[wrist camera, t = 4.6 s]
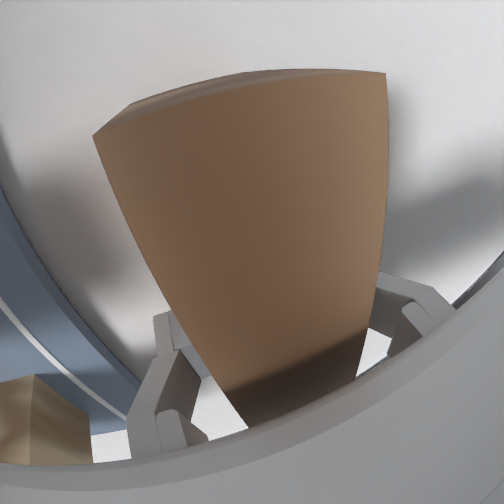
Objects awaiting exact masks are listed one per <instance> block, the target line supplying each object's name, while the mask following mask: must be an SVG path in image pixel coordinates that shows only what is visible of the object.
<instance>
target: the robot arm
mask: <svg viewBox="0 0 504 504" xmlns="http://www.w3.org/2000/svg"><path fill="white" fill-rule="evenodd" d="M153 325H154V333H155V340H156V347H157V354H158V357H155V358H154V359H153V361H152V363H151V365H150V367H149V369H148V371H147V373H146V376H145V378H144V380H143V382H142V384H141V386H140V388H139V391H138V393H137V395H136V397H135V399H134V402H133V404H132V406H131V408H130V411H129V413H128V415H127V417H126V426H127V433H128V439H129V446H130V452H131V457H132V459H126V460H120V461H112V462H103V463H93V464H80V465H54V466H42V465H17V464H6V463H0V504H504V267H503V268H502V269H501V270H500V271H499V273H497V275H495V276H494V278H492V279H491V280H490V281H489V282H488V283H487V284H486V285H485V286H484V287H483V288H482V289H481V290H480V291H479V292H477V293H476V294H475V295H474V296H473V297H472V298H471V299H470V300H468V301H467V302H466V303H465V304H464V305H463V306H462V307H460V308H459V309H458V310H457V311H456V310H455V309H454V308H453V307H452V306H451V305H450V304H449V303H448V302H447V301H446V300H445V299H444V298H443V297H442V296H441V295H440V294H439V293H438V292H437V291H436V290H435V289H434V288H433V287H430V286H427V285H424V284H420V283H417V282H413V281H410V280H407V279H403V278H400V277H396V276H393V275H389V274H386V273H383V272H379V271H378V278H377V284H376V290H375V295H374V301H373V306H372V311H371V316H370V321H369V325H368V327H369V328H371V329H373V330H375V331H377V332H379V333H381V334H383V335H386V336H388V337H390V338H392V340H391V343H390V345H389V348H388V352H387V355H388V356H389V357H390V359H389V360H387V361H386V362H384V363H382V364H381V365H379V366H378V367H376V368H374V369H373V370H371V371H369V372H368V373H366V374H364V375H362V376H361V377H359V378H357V379H355V380H354V381H352V382H350V383H348V384H346V385H344V386H343V387H341V388H339V389H337V390H335V391H333V392H331V393H329V394H327V395H325V396H323V397H321V398H319V399H317V400H315V401H313V402H311V403H308V404H306V405H304V406H302V407H300V408H298V409H295V410H293V411H291V412H288V413H286V414H284V415H281V416H279V417H276V418H274V419H272V420H269V421H266V422H264V423H261V424H259V425H256V426H253V427H251V428H248V429H245V430H242V431H239V432H236V433H233V434H230V435H227V436H224V437H221V438H218V439H215V440H211V441H209V440H208V437H207V435H206V434H204V433H203V432H202V431H201V430H199V429H198V428H197V427H196V426H194V425H193V424H192V423H191V422H190V421H191V417H192V414H193V410H194V406H195V402H196V398H197V395H198V391H199V387H200V383H201V379H202V378H204V377H207V376H210V375H211V373H210V372H209V370H208V369H207V367H206V366H205V364H204V363H203V361H202V359H201V358H200V356H199V355H198V353H197V352H196V350H195V348H194V347H193V345H192V343H191V342H190V340H189V339H188V337H187V335H186V334H185V332H184V330H183V329H182V327H181V325H180V323H179V322H178V320H177V318H176V317H175V315H174V313H173V311H172V310H169V311H168V312H165V313H162V314H158V315H155V316H154V317H153Z"/></svg>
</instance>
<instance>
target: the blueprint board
mask: <svg viewBox="0 0 504 504" xmlns="http://www.w3.org/2000/svg"><path fill="white" fill-rule="evenodd" d="M32 374H35V375H36V376H37V377H39V378H40V379H41V380H42V381H43V382H45V383H46V384H47V385H48V386H49V387H51V388H52V389H53V390H55V391H56V392H57V393H58V394H60V395H61V396H62V397H64V398H65V399H66V400H68V401H69V402H71V403H72V404H73V405H75V406H76V407H78V408H79V409H80V410H82V411H83V412H85V413H86V414H88V415H89V422H90V436H91V435H97V434H103V433H109V432H114V431H120V430H125V429H127V426H126V417H127V415H128V413H129V411H130V408H131V406H132V404H133V402H134V399H135V397H136V395H137V393H138V391H139V388H140V386H141V384H142V383H141V382H140V381H139V380H138V379H137V378H136V377H135V376H134V375H133V374H132V373H131V372H130V371H129V370H128V369H127V368H126V367H125V366H124V365H123V364H122V363H121V362H120V361H119V360H118V359H117V358H116V357H115V356H114V355H113V354H112V353H111V352H110V350H109V349H108V348H107V347H106V346H105V345H104V344H103V343H102V342H101V340H100V339H99V338H98V337H97V336H96V335H95V334H94V332H93V331H92V330H91V329H90V328H89V326H88V325H87V324H86V323H85V322H84V320H83V319H82V318H81V317H80V315H79V314H78V313H77V312H76V310H75V309H74V308H73V306H72V305H71V304H70V302H69V301H68V300H67V298H66V297H65V296H64V294H63V293H62V292H61V290H60V289H59V287H58V286H57V285H56V283H55V282H54V280H53V279H52V277H51V276H50V275H49V273H48V272H47V270H46V269H45V267H44V265H43V264H42V262H41V261H40V259H39V258H38V256H37V254H36V253H35V251H34V250H33V248H32V246H31V245H30V243H29V241H28V239H27V238H26V236H25V234H24V232H23V231H22V229H21V227H20V225H19V223H18V222H17V220H16V218H15V216H14V214H13V212H12V210H11V208H10V206H9V204H8V202H7V200H6V198H5V196H4V194H3V191H2V189H1V187H0V382H4V381H9V380H13V379H17V378H21V377H25V376H28V375H32Z"/></svg>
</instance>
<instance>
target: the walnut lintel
mask: <svg viewBox="0 0 504 504" xmlns="http://www.w3.org/2000/svg"><path fill="white" fill-rule="evenodd" d="M92 137H93V140H94V143H95V145H96V148H97V151H98V154H99V156H100V159H101V162H102V164H103V167H104V169H105V172H106V174H107V177H108V179H109V182H110V184H111V187H112V189H113V192H114V194H115V196H116V199H117V201H118V203H119V206H120V208H121V210H122V212H123V215H124V217H125V219H126V221H127V224H128V226H129V228H130V230H131V232H132V234H133V236H134V238H135V241H136V243H137V245H138V247H139V249H140V251H141V253H142V255H143V257H144V259H145V261H146V263H147V265H148V267H149V269H150V271H151V273H152V275H153V277H154V278H155V280H156V282H157V284H158V286H159V288H160V290H161V292H162V293H163V295H164V297H165V299H166V301H167V302H168V304H169V306H170V308H171V310H172V311H173V313H174V315H175V317H176V318H177V320H178V322H179V323H180V325H181V327H182V329H183V330H184V332H185V334H186V335H187V337H188V339H189V340H190V342H191V343H192V345H193V347H194V348H195V350H196V352H197V353H198V355H199V356H200V358H201V359H202V361H203V363H204V364H205V366H206V367H207V369H208V370H209V372H210V373H211V375H212V376H213V378H214V379H215V381H216V382H217V384H218V385H219V387H220V388H221V390H222V391H223V393H224V394H225V396H226V397H227V398H228V400H229V401H230V403H231V404H232V406H233V407H234V408H235V410H236V411H237V412H238V414H239V415H240V417H241V418H242V419H243V421H244V422H245V423H246V425H247V426H248V427H249V428H251V427H253V426H256V425H259V424H261V423H264V422H266V421H269V420H272V419H274V418H276V417H279V416H281V415H284V414H286V413H288V412H291V411H293V410H295V409H298V408H300V407H302V406H304V405H306V404H308V403H311V402H313V401H315V400H317V399H319V398H321V397H323V396H325V395H327V394H329V393H331V392H333V391H335V390H337V389H339V388H341V387H343V386H344V385H346V384H348V383H350V382H352V381H354V380H355V377H356V373H357V370H358V366H359V362H360V359H361V355H362V351H363V347H364V343H365V338H366V334H367V330H368V325H369V321H370V316H371V311H372V306H373V301H374V295H375V290H376V284H377V278H378V271H379V265H380V258H381V250H382V242H383V233H384V224H385V213H386V200H387V184H388V157H389V125H388V98H387V83H386V73H380V72H370V71H358V70H342V69H282V70H265V71H253V72H243V73H238V74H233V75H228V76H223V77H219V78H214V79H210V80H206V81H202V82H198V83H194V84H190V85H187V86H183V87H180V88H176V89H173V90H170V91H166V92H163V93H160V94H157V95H154V96H151V97H148V98H145V99H142V100H140V101H137V102H134V103H132V104H130V105H129V106H127V107H126V108H125V109H123V110H122V111H121V112H120V113H118V114H117V115H116V116H115V117H114V118H112V119H111V120H110V121H109V122H108V123H107V124H105V125H104V126H103V127H102V128H101V129H100V130H99V131H97V132H96V133H95V134H94V135H93V136H92Z"/></svg>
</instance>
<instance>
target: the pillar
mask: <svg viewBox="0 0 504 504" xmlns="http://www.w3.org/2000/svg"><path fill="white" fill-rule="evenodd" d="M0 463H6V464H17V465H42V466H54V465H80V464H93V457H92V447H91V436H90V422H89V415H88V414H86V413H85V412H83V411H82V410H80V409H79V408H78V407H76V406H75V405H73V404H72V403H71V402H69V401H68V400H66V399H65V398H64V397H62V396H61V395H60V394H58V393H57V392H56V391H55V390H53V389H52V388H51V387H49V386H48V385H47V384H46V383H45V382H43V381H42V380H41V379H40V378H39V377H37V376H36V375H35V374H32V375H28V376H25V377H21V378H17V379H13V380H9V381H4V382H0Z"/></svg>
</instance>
